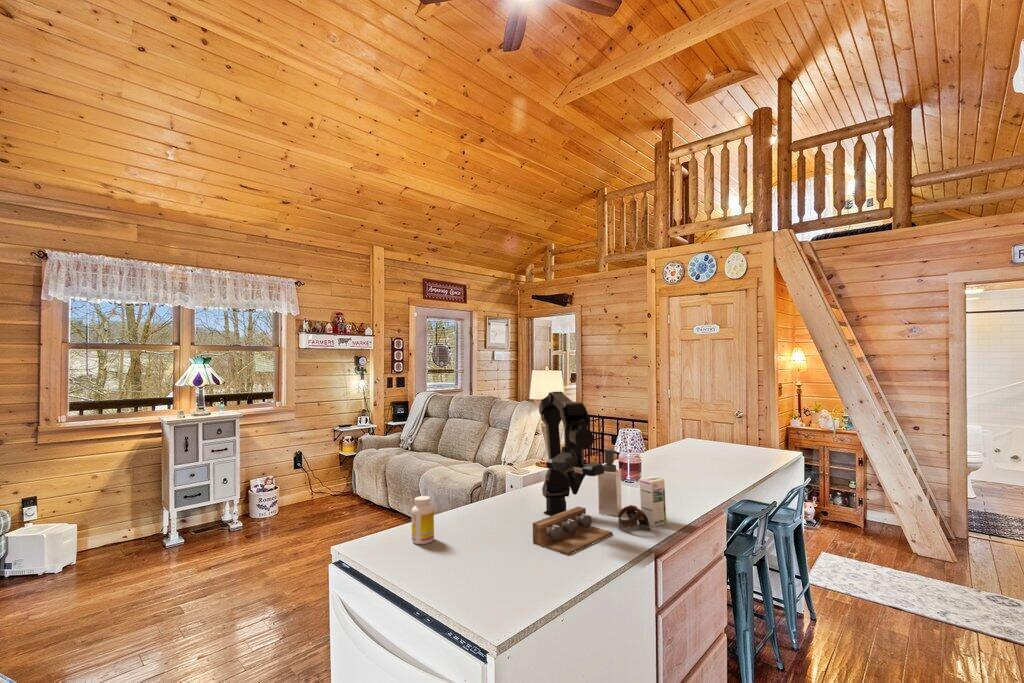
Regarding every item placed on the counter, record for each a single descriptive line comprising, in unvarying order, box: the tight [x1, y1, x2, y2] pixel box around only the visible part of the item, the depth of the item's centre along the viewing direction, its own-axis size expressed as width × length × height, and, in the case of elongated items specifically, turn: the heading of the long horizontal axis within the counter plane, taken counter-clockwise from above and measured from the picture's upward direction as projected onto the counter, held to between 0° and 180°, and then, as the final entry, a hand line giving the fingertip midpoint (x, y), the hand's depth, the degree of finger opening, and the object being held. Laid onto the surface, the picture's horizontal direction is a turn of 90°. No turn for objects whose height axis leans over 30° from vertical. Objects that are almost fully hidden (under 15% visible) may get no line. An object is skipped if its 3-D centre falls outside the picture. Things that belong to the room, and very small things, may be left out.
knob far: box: [575, 514, 593, 528], centre depth 151 cm, size 8×4×4 cm, turn 45°
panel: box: [532, 506, 613, 556], centre depth 143 cm, size 13×22×6 cm, turn 135°
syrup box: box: [639, 476, 667, 528], centre depth 156 cm, size 6×6×14 cm
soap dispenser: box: [597, 448, 623, 517], centre depth 169 cm, size 6×9×22 cm
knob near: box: [546, 525, 564, 540], centre depth 141 cm, size 8×4×4 cm, turn 45°
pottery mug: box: [617, 504, 652, 531], centre depth 152 cm, size 12×10×8 cm
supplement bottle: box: [411, 495, 435, 545], centre depth 144 cm, size 7×7×13 cm
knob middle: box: [561, 519, 578, 534], centre depth 146 cm, size 8×4×4 cm, turn 45°
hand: (574, 494), depth 147 cm, fingers closed
